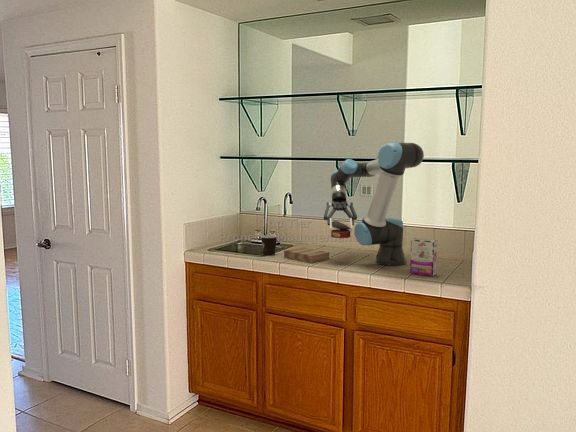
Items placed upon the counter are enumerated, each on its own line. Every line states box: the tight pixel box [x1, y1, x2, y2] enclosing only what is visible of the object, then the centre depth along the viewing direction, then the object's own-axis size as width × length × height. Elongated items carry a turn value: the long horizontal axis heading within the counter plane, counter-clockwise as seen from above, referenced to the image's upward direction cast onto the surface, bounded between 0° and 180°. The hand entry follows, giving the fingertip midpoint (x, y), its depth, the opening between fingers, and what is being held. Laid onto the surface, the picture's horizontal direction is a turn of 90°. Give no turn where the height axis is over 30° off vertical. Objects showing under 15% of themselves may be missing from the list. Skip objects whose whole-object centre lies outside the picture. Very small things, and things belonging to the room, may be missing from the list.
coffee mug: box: [260, 234, 278, 257], centre depth 289 cm, size 12×9×10 cm
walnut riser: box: [283, 246, 330, 264], centre depth 277 cm, size 20×14×4 cm
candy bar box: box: [409, 238, 438, 277], centre depth 242 cm, size 11×5×16 cm, turn 56°
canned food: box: [330, 220, 351, 239], centre depth 264 cm, size 11×10×10 cm
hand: (341, 229), depth 261 cm, fingers closed on canned food, 10 cm apart
